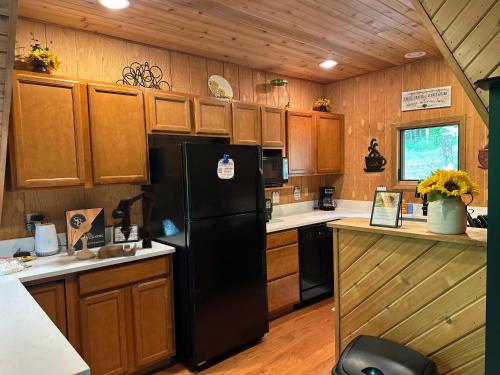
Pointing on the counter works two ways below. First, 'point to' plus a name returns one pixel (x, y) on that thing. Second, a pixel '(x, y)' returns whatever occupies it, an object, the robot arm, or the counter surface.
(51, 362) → the counter surface
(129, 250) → the coaster
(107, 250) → the housing
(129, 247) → the riser
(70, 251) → the reed diffuser
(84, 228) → the flower in vase
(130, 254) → the grey jagged bowl
